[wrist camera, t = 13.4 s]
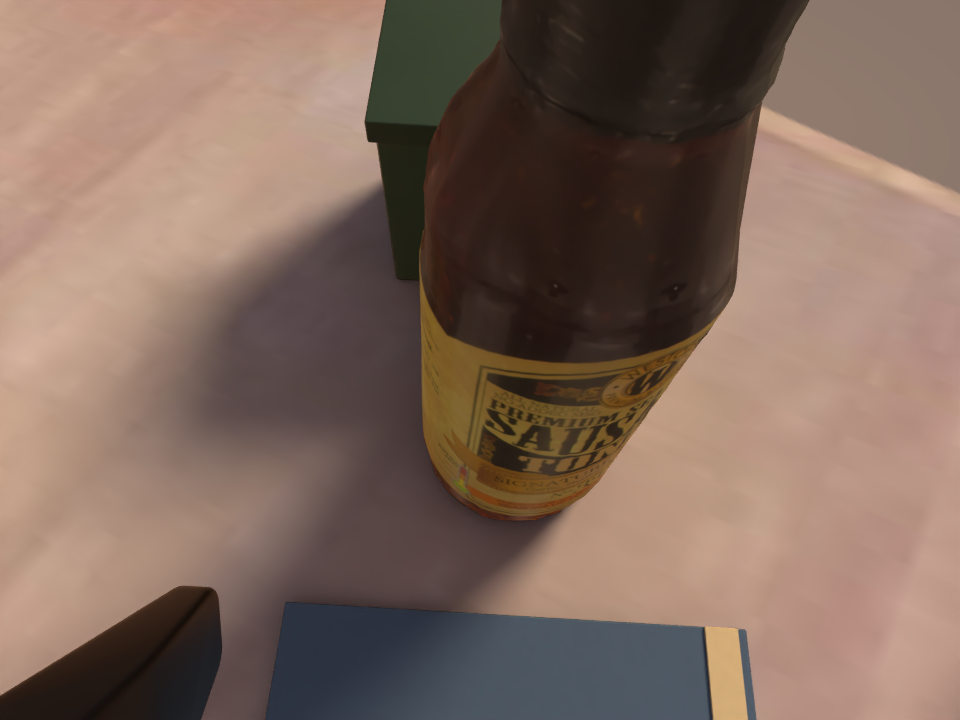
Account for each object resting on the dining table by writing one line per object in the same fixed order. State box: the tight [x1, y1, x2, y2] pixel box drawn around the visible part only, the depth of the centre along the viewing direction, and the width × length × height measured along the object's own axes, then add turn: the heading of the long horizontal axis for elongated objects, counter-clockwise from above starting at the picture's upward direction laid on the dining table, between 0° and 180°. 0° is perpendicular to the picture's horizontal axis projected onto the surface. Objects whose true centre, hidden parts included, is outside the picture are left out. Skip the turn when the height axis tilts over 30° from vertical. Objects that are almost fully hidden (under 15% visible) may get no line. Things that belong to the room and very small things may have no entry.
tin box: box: [365, 0, 502, 280], centre depth 23 cm, size 6×10×9 cm, turn 87°
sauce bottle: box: [419, 0, 809, 521], centre depth 14 cm, size 6×6×20 cm
